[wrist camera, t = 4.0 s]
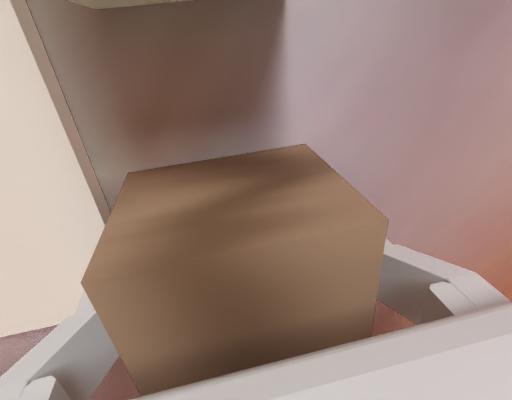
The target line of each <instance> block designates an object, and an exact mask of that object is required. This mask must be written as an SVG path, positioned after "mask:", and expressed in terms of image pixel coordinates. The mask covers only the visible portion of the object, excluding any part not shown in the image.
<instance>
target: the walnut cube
mask: <svg viewBox="0 0 512 400" xmlns="http://www.w3.org/2000/svg"><path fill="white" fill-rule="evenodd" d="M387 226H388V218H386V217H385V216H384V215H383V214H382V213H381V212H380V211H379V210H378V209H377V208H375V207H374V206H373V205H372V204H371V203H370V202H369V201H368V200H367V199H365V198H364V197H363V196H362V195H361V194H360V193H359V192H358V191H357V190H356V189H354V188H353V187H352V186H351V185H350V184H349V183H348V182H347V181H346V180H345V179H343V178H342V177H341V176H340V175H339V174H338V173H337V172H336V171H335V170H334V169H332V168H331V167H330V166H329V165H328V164H327V163H326V162H325V161H324V160H322V159H321V158H320V157H319V156H318V155H317V154H316V153H315V152H314V151H313V150H311V149H310V148H309V147H308V146H307V145H306V144H301V145H295V146H289V147H283V148H277V149H271V150H265V151H259V152H253V153H247V154H241V155H234V156H228V157H222V158H216V159H210V160H204V161H198V162H192V163H186V164H180V165H174V166H168V167H162V168H155V169H149V170H143V171H137V172H131V173H128V175H127V177H126V179H125V181H124V184H123V186H122V188H121V191H120V193H119V195H118V198H117V200H116V202H115V204H114V207H113V209H112V211H111V214H110V216H109V218H108V221H107V223H106V225H105V227H104V230H103V232H102V234H101V237H100V239H99V241H98V244H97V246H96V248H95V250H94V253H93V255H92V257H91V260H90V262H89V264H88V267H87V269H86V271H85V273H84V276H83V278H82V280H81V285H82V286H83V288H84V290H85V292H86V294H87V296H88V298H89V300H90V301H91V303H92V305H93V307H94V309H95V311H96V313H97V315H98V316H99V318H100V320H101V322H102V324H103V326H104V328H105V329H106V331H107V333H108V335H109V337H110V339H111V341H112V343H113V344H114V346H115V348H116V350H117V352H118V354H119V356H120V358H121V359H122V361H123V363H124V365H125V367H126V369H127V371H128V372H129V374H130V376H131V378H132V380H133V382H134V384H135V386H136V387H137V389H138V391H139V393H140V395H141V396H144V395H148V394H152V393H156V392H160V391H164V390H168V389H171V388H175V387H179V386H183V385H187V384H191V383H195V382H199V381H202V380H206V379H210V378H214V377H218V376H222V375H226V374H229V373H233V372H237V371H241V370H245V369H249V368H253V367H257V366H260V365H264V364H268V363H272V362H276V361H280V360H284V359H288V358H291V357H295V356H299V355H303V354H307V353H311V352H315V351H319V350H322V349H326V348H330V347H334V346H338V345H342V344H346V343H350V342H353V341H357V340H361V339H365V338H369V337H371V333H372V326H373V320H374V313H375V306H376V299H377V293H378V286H379V279H380V273H381V266H382V259H383V253H384V246H385V239H386V233H387Z"/></svg>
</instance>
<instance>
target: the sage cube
mask: <svg viewBox="0 0 512 400" xmlns="http://www.w3.org/2000/svg"><path fill="white" fill-rule="evenodd" d="M67 1H70V2H73V3H76V4H80V5H83V6H86V7H89V8H93V9H106V8H117V7H127V6H138V5H149V4H159V3H170V2H180V1H191V0H67Z"/></svg>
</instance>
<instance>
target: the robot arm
mask: <svg viewBox="0 0 512 400" xmlns="http://www.w3.org/2000/svg"><path fill="white" fill-rule="evenodd" d="M377 300H379V301H380V302H382V303H384V304H385V305H387V306H388V307H390V308H391V309H393V310H394V311H396V312H398V313H399V314H401V315H402V316H404V317H405V318H407V319H409V320H410V321H412V322H413V323H415V324H416V325H415V326H411V327H408V328H404V329H400V330H396V331H392V332H388V333H384V334H380V335H377V336H373V337H369V338H365V339H361V340H357V341H353V342H350V343H346V344H342V345H338V346H334V347H330V348H326V349H322V350H319V351H315V352H311V353H307V354H303V355H299V356H295V357H291V358H288V359H284V360H280V361H276V362H272V363H268V364H264V365H260V366H257V367H253V368H249V369H245V370H241V371H237V372H233V373H229V374H226V375H222V376H218V377H214V378H210V379H206V380H202V381H199V382H195V383H191V384H187V385H183V386H179V387H175V388H171V389H168V390H164V391H160V392H156V393H152V394H148V395H144V396H140V397H137V398H133V399H129V400H512V301H510V300H509V299H508V298H506V297H505V296H504V295H503V294H502V293H500V292H499V291H498V290H497V289H495V288H494V287H493V286H492V285H490V284H489V283H488V282H487V281H486V280H484V279H483V278H482V277H481V276H479V275H478V274H477V273H476V272H473V271H470V270H467V269H465V268H462V267H459V266H456V265H454V264H451V263H448V262H445V261H442V260H440V259H437V258H434V257H431V256H429V255H426V254H423V253H420V252H418V251H415V250H412V249H409V248H406V247H404V246H401V245H398V244H396V245H393V244H392V243H391V242H390V241H389V240H388V239H387V238H386V239H385V246H384V253H383V259H382V266H381V273H380V279H379V286H378V293H377ZM118 357H119V354H118V352H117V350H116V348H115V346H114V344H113V343H112V341H111V339H110V337H109V335H108V333H107V331H106V329H105V328H104V326H103V324H102V322H101V320H100V318H99V316H98V315H97V313H96V311H95V309H94V307H93V305H92V303H91V301H90V300H89V298H88V296H87V294H86V292H85V290H84V292H83V294H82V297H81V299H80V302H79V304H78V307H77V309H76V311H75V314H74V315H71V316H68V317H67V318H66V319H65V320H64V321H63V322H61V323H60V324H59V325H58V326H57V327H56V328H55V329H54V330H52V331H51V332H50V333H49V334H48V335H47V336H46V337H45V338H43V339H42V340H41V341H40V342H39V343H38V344H37V345H36V346H34V347H33V348H32V349H31V350H30V351H29V352H28V353H27V354H25V355H24V356H23V357H22V358H21V359H20V360H19V361H18V362H17V363H15V364H14V365H13V366H12V367H11V368H10V369H9V370H8V371H6V372H5V373H4V374H3V375H2V376H1V377H0V400H90V398H91V397H92V395H93V394H94V392H95V391H96V389H97V388H98V386H99V385H100V384H101V382H102V381H103V379H104V378H105V376H106V375H107V373H108V372H109V371H110V369H111V368H112V366H113V365H114V363H115V362H116V360H117V359H118Z"/></svg>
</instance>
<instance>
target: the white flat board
mask: <svg viewBox="0 0 512 400" xmlns="http://www.w3.org/2000/svg"><path fill="white" fill-rule="evenodd" d="M110 214H111V213H110V210H109V208H108V205H107V203H106V200H105V198H104V195H103V193H102V190H101V188H100V185H99V183H98V180H97V178H96V175H95V173H94V170H93V168H92V165H91V163H90V160H89V158H88V155H87V153H86V150H85V148H84V145H83V143H82V140H81V138H80V135H79V133H78V130H77V128H76V125H75V123H74V120H73V118H72V115H71V113H70V110H69V108H68V105H67V103H66V100H65V98H64V95H63V93H62V90H61V88H60V85H59V83H58V80H57V78H56V75H55V73H54V70H53V68H52V65H51V63H50V60H49V58H48V55H47V53H46V50H45V48H44V45H43V43H42V40H41V38H40V35H39V33H38V30H37V28H36V25H35V23H34V20H33V18H32V15H31V13H30V10H29V8H28V5H27V3H26V0H0V337H5V336H9V335H14V334H18V333H23V332H27V331H32V330H36V329H41V328H45V327H50V326H55V325H59V324H60V323H61V322H63V321H64V320H65V319H66V318H67V317H68V316H71V315H74V314H75V311H76V309H77V307H78V304H79V302H80V299H81V297H82V294H83V292H84V288H83V286H82V285H81V280H82V278H83V276H84V273H85V271H86V269H87V267H88V264H89V262H90V260H91V257H92V255H93V253H94V250H95V248H96V246H97V244H98V241H99V239H100V237H101V234H102V232H103V230H104V227H105V225H106V223H107V221H108V218H109V216H110Z"/></svg>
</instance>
